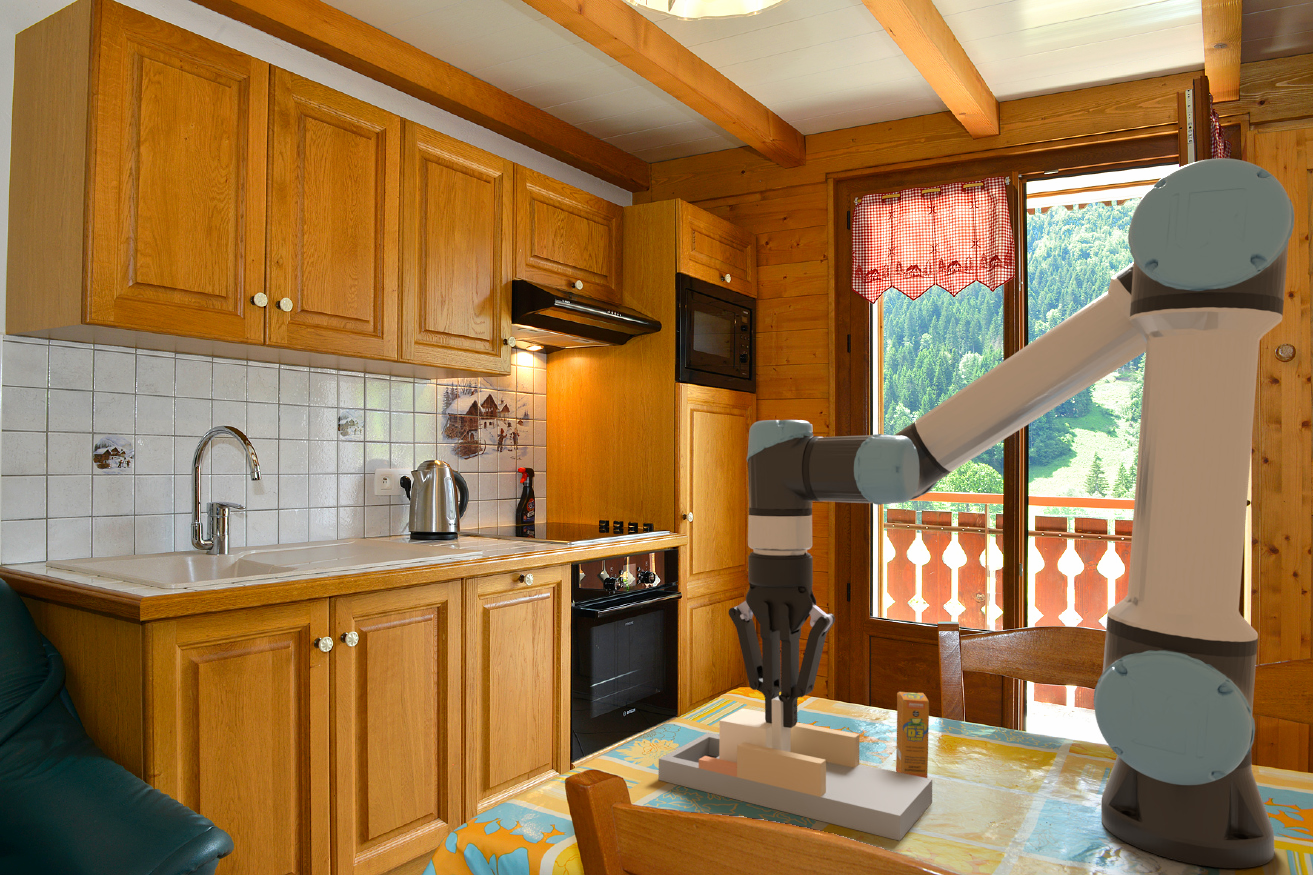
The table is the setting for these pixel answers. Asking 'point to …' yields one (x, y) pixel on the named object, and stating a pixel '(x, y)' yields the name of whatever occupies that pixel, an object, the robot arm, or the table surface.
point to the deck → (806, 780)
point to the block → (743, 732)
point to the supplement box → (912, 734)
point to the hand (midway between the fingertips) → (781, 753)
